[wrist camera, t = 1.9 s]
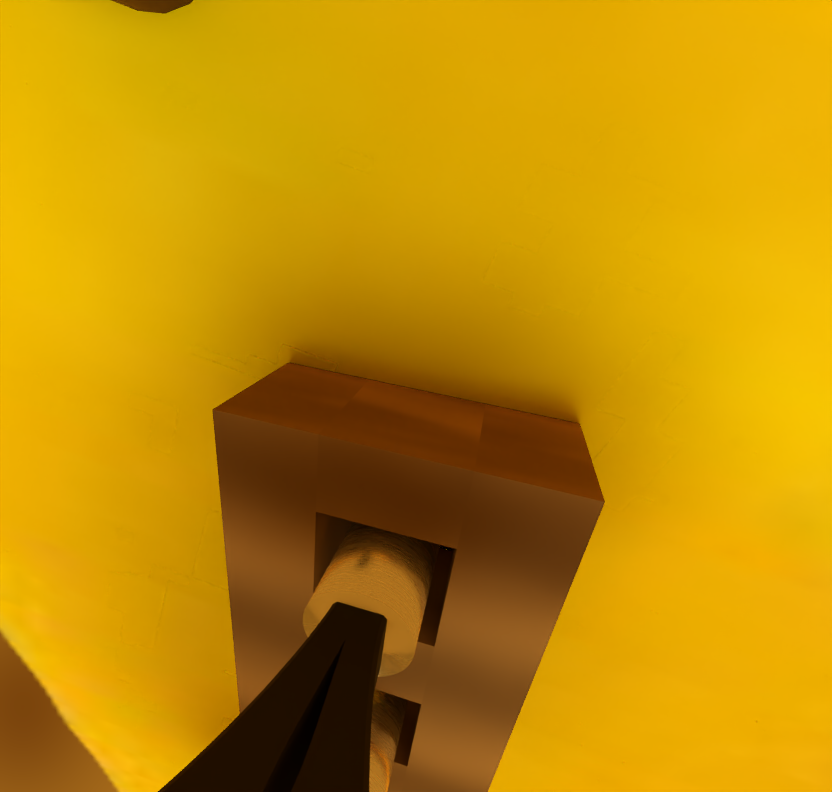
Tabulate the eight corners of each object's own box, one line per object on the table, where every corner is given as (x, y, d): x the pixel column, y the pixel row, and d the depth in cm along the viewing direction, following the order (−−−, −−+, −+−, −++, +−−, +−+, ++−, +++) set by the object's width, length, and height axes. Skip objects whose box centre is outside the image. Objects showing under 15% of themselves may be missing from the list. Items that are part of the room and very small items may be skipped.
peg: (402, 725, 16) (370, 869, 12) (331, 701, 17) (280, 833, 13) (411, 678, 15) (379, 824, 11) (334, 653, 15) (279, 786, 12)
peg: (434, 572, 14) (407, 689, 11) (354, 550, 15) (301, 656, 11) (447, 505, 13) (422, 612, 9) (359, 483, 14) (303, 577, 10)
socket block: (481, 715, 20) (473, 825, 16) (289, 652, 21) (242, 741, 17) (580, 423, 13) (604, 501, 9) (288, 362, 14) (212, 409, 11)
